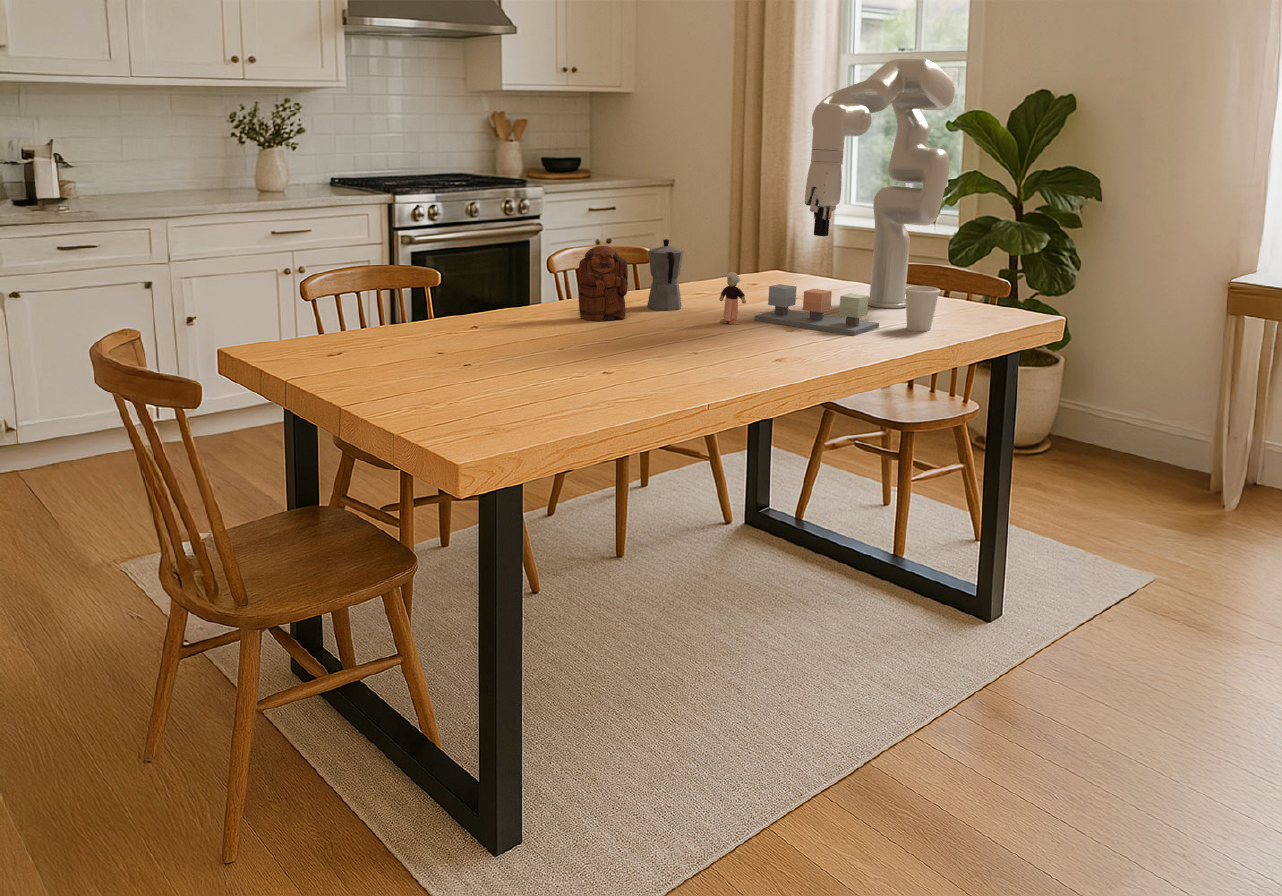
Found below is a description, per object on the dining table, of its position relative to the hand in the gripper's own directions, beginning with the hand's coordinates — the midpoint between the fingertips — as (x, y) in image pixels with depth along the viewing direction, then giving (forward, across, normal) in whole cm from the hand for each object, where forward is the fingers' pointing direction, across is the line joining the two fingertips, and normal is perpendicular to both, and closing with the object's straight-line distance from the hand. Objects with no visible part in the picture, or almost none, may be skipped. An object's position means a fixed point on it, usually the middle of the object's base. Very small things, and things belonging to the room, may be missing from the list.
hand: (820, 235), depth 264 cm
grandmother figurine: (+22, +14, -16) cm, 30 cm away
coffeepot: (+22, +9, -40) cm, 46 cm away
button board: (+22, 0, 0) cm, 22 cm away
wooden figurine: (+22, +31, -42) cm, 57 cm away
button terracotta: (+18, 0, 0) cm, 18 cm away
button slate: (+18, 0, -10) cm, 21 cm away
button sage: (+18, 0, +10) cm, 21 cm away
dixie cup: (+22, -12, +22) cm, 33 cm away
